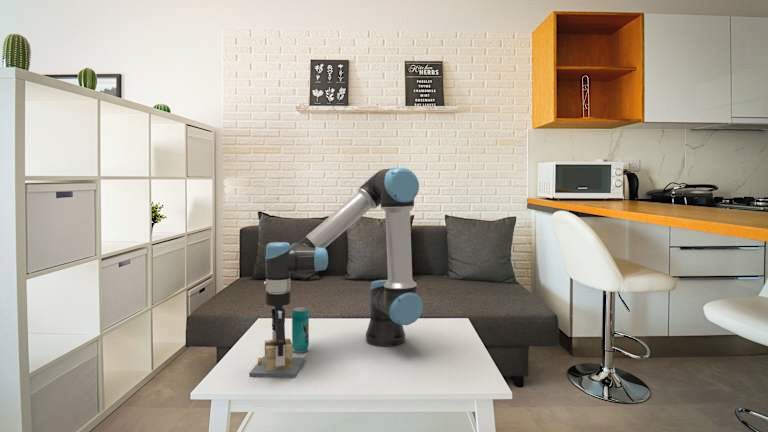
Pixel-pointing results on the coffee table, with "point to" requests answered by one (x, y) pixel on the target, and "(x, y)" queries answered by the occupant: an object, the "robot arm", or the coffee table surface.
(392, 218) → the robot arm
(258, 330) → the coffee table surface
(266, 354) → the wooden square frame
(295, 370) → the post base
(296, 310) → the beverage can
